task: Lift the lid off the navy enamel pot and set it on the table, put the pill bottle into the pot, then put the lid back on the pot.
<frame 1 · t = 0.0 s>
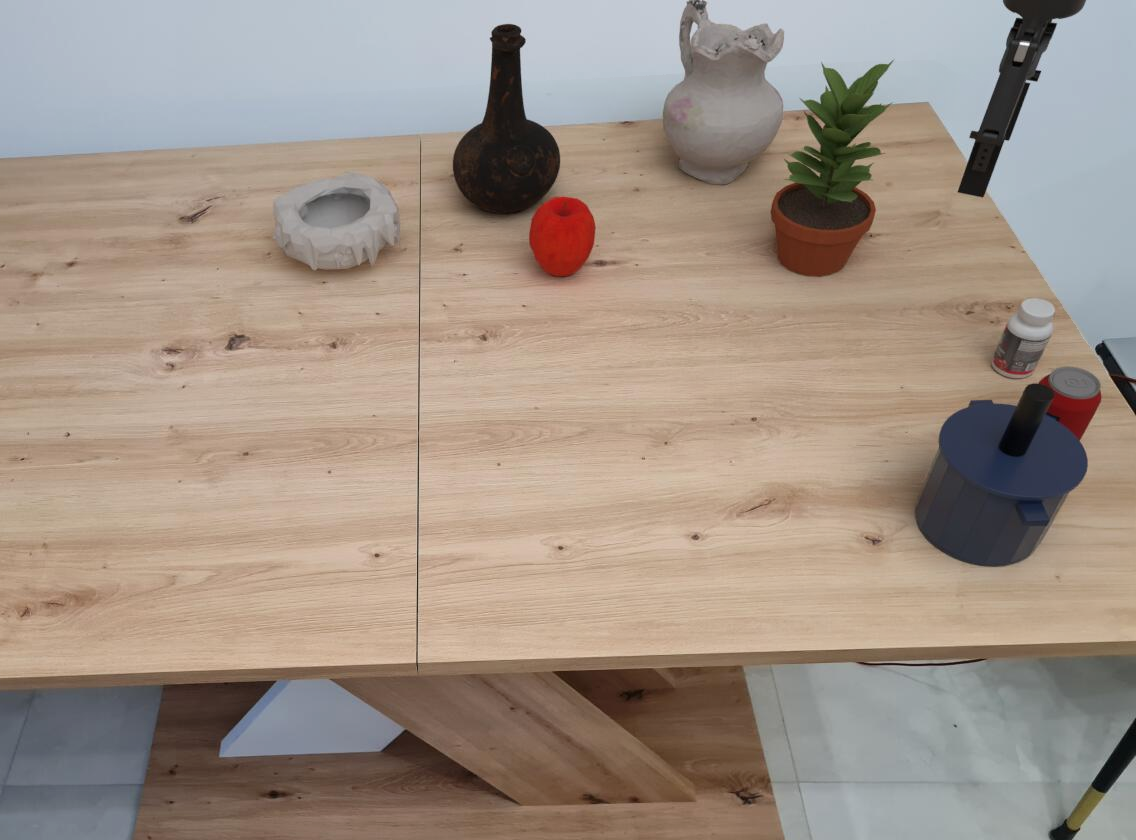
hand: (984, 164, 120), 30 cm above the table, tool pointing down, fingers open, 13 cm apart
glass bottle: (506, 199, 178), on the table
bowl: (341, 256, 171), on the table
lid: (1010, 452, 115), point 11 cm above the table, touching pot
apple: (560, 272, 163), on the table
potted plant: (809, 259, 161), on the table
pill bottle: (1011, 368, 141), on the table
ceramic pitcher: (708, 162, 181), on the table
pot: (976, 522, 123), on the table
beverage can: (1036, 457, 130), on the table
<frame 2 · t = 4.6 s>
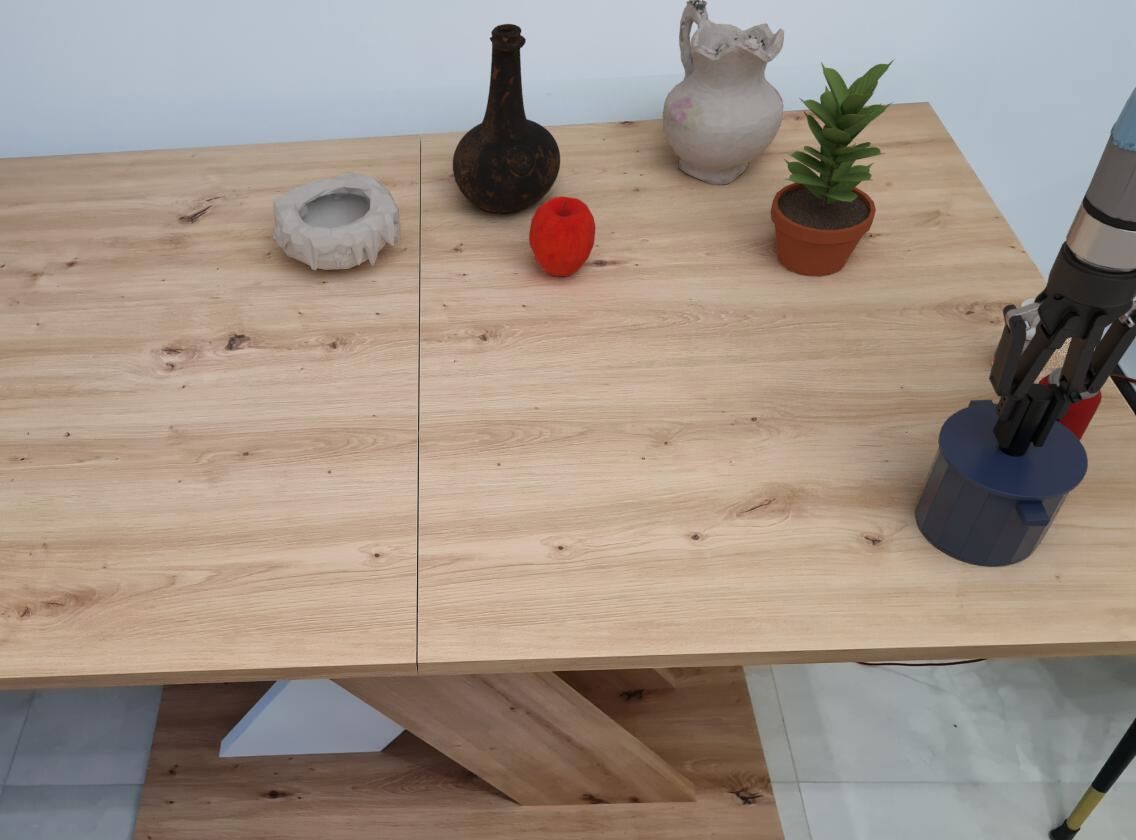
hand: (1017, 438, 113), 14 cm above the table, tool pointing down, fingers closed on lid, 3 cm apart
lid: (1010, 452, 115), point 12 cm above the table, touching gripper, pot
everything else where it was.
when the fingers open (3 cm above the table, at t = 11.8 s): lid stays where it is, point 1 cm above the table.
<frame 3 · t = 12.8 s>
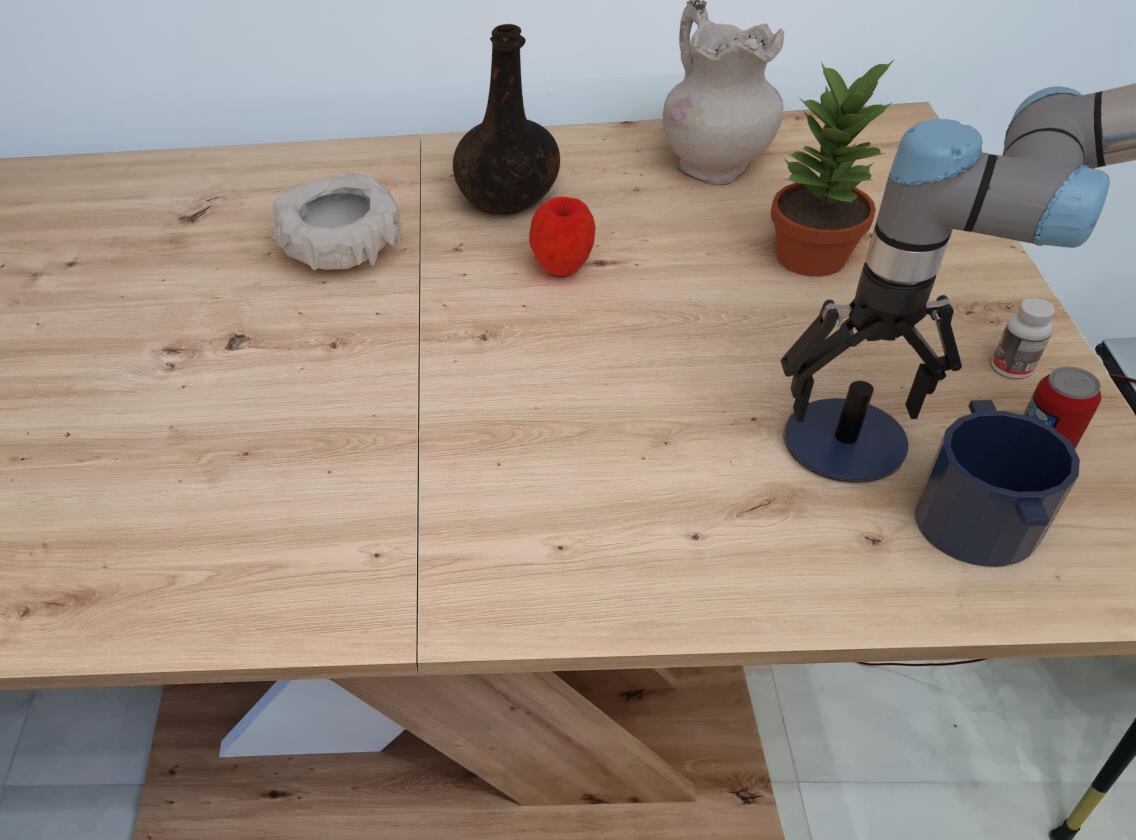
hand: (854, 413, 130), 5 cm above the table, tool pointing down, fingers open, 13 cm apart
lid: (845, 439, 133), point 1 cm above the table
everything else where it was.
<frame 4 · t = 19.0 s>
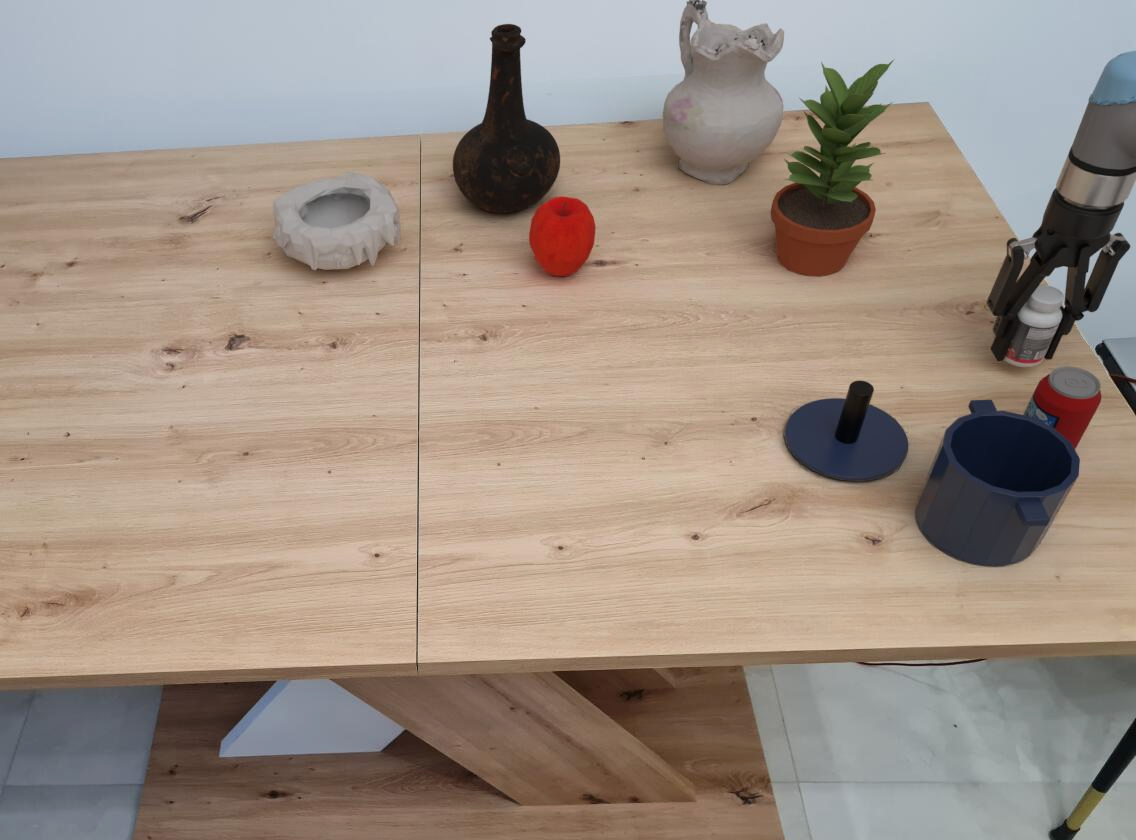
hand: (1020, 353, 139), 2 cm above the table, tool pointing down, fingers closed on pill bottle, 5 cm apart
pill bottle: (1019, 357, 139), point 2 cm above the table, touching gripper
everything else where it was.
when the fingers open (11 cm above the table, at t = 24.7 s): pill bottle drops 10 cm, resting on pot.
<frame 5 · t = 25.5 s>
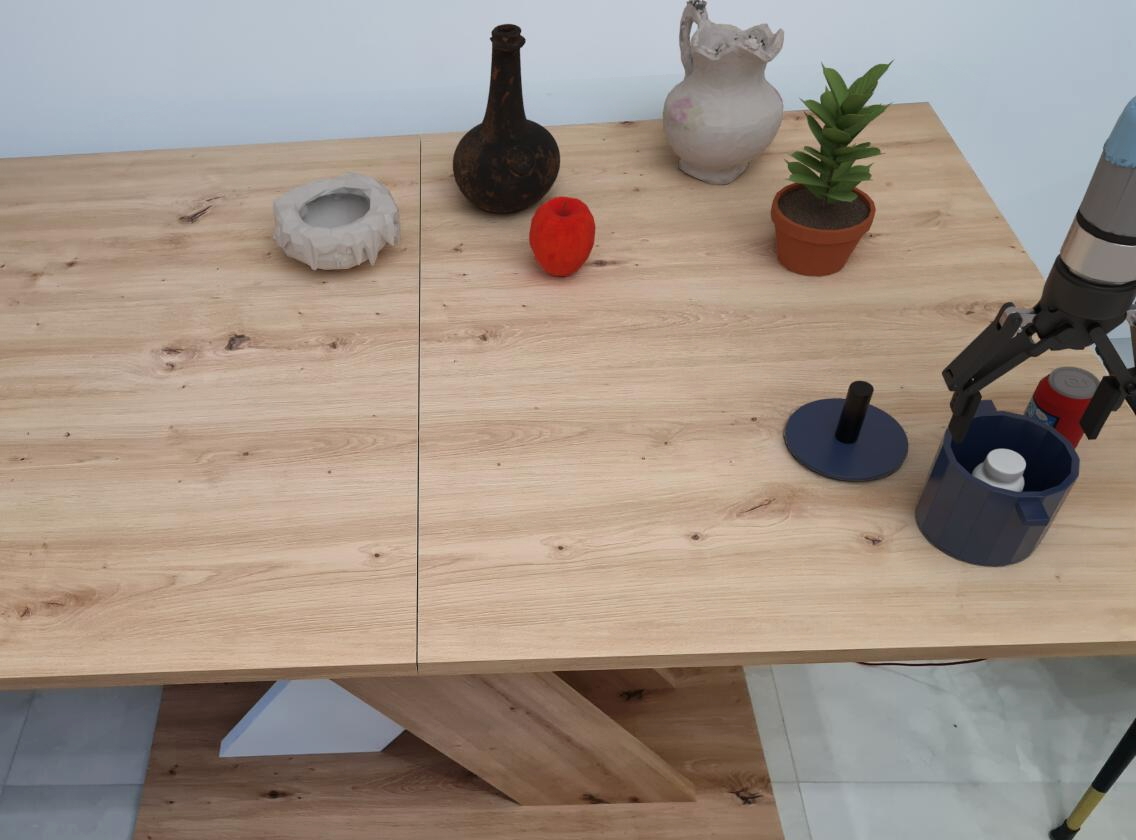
hand: (1020, 433, 113), 14 cm above the table, tool pointing down, fingers open, 13 cm apart
pill bottle: (977, 521, 123), resting on pot
everything else where it was.
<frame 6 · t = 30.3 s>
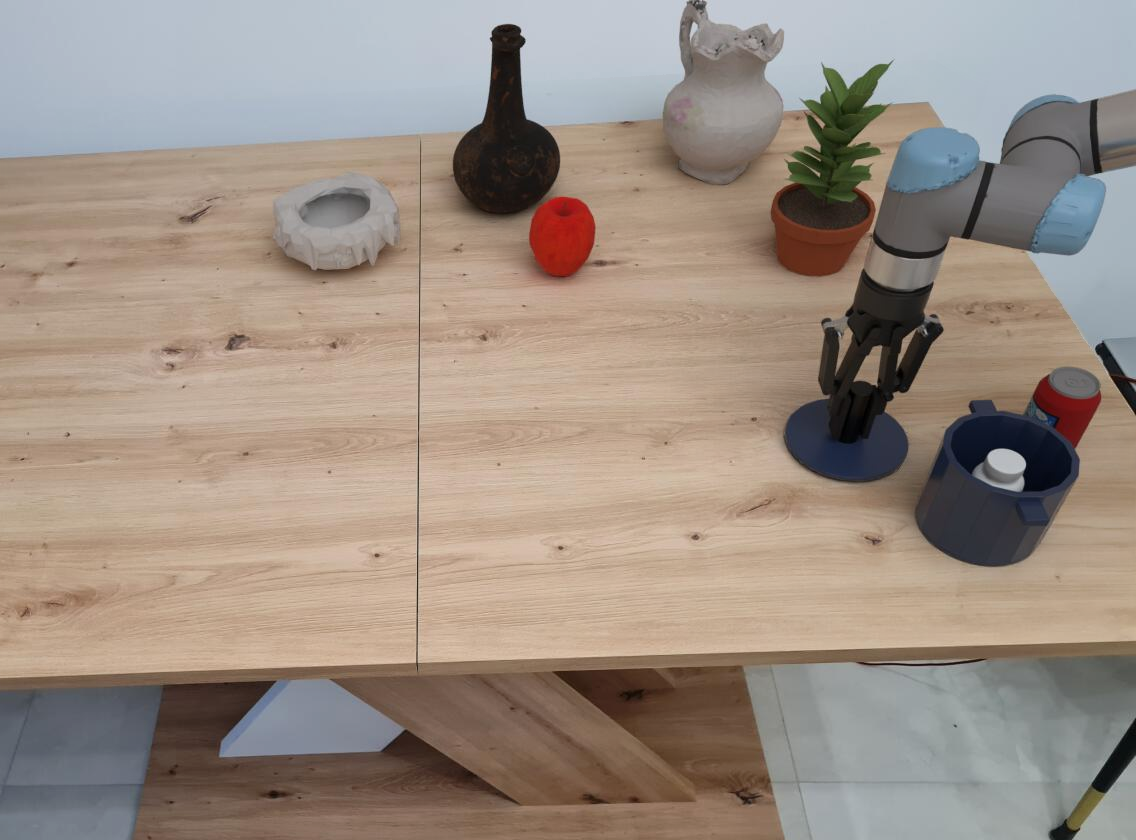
hand: (848, 431, 132), 2 cm above the table, tool pointing down, fingers closed on lid, 3 cm apart
lid: (845, 439, 133), point 1 cm above the table, touching gripper
everything else where it was.
when the fingers open (13 cm above the table, at t = 37.6 s): lid stays where it is, resting on pot.
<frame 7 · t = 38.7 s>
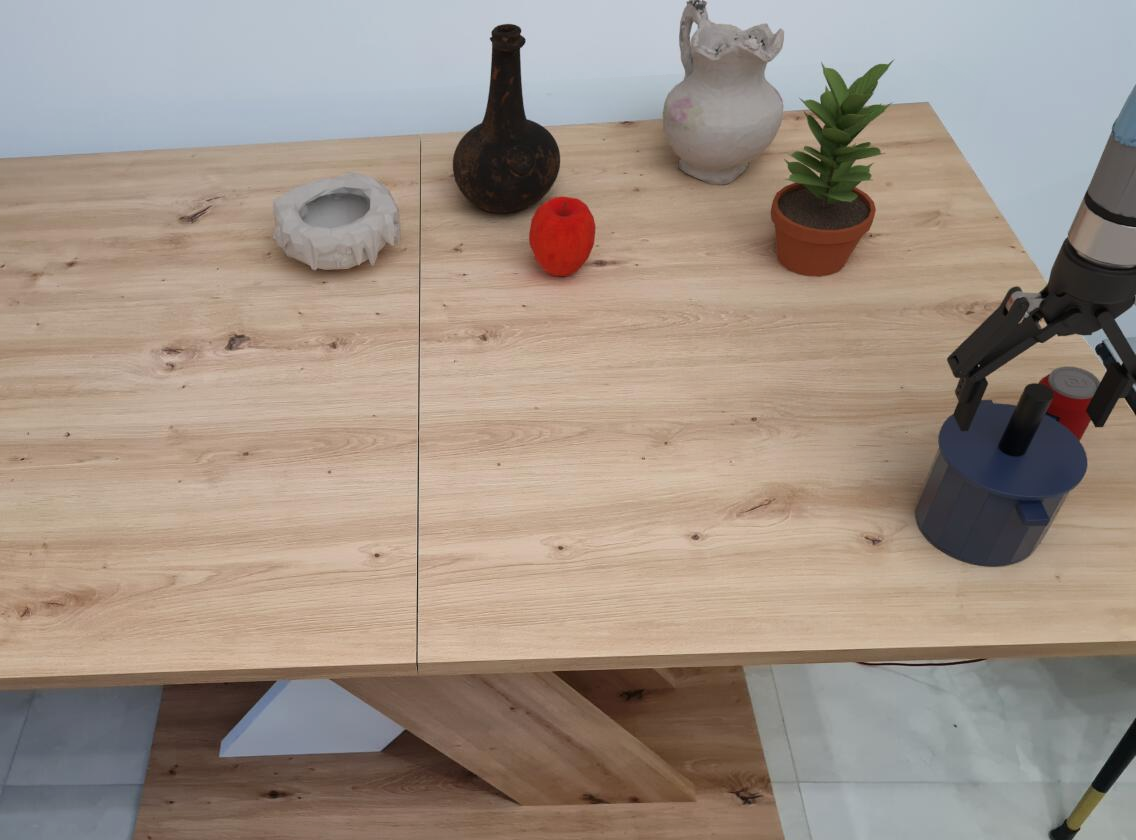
hand: (1026, 420, 111), 16 cm above the table, tool pointing down, fingers open, 13 cm apart
lid: (1010, 451, 115), point 11 cm above the table, touching pot
everything else where it was.
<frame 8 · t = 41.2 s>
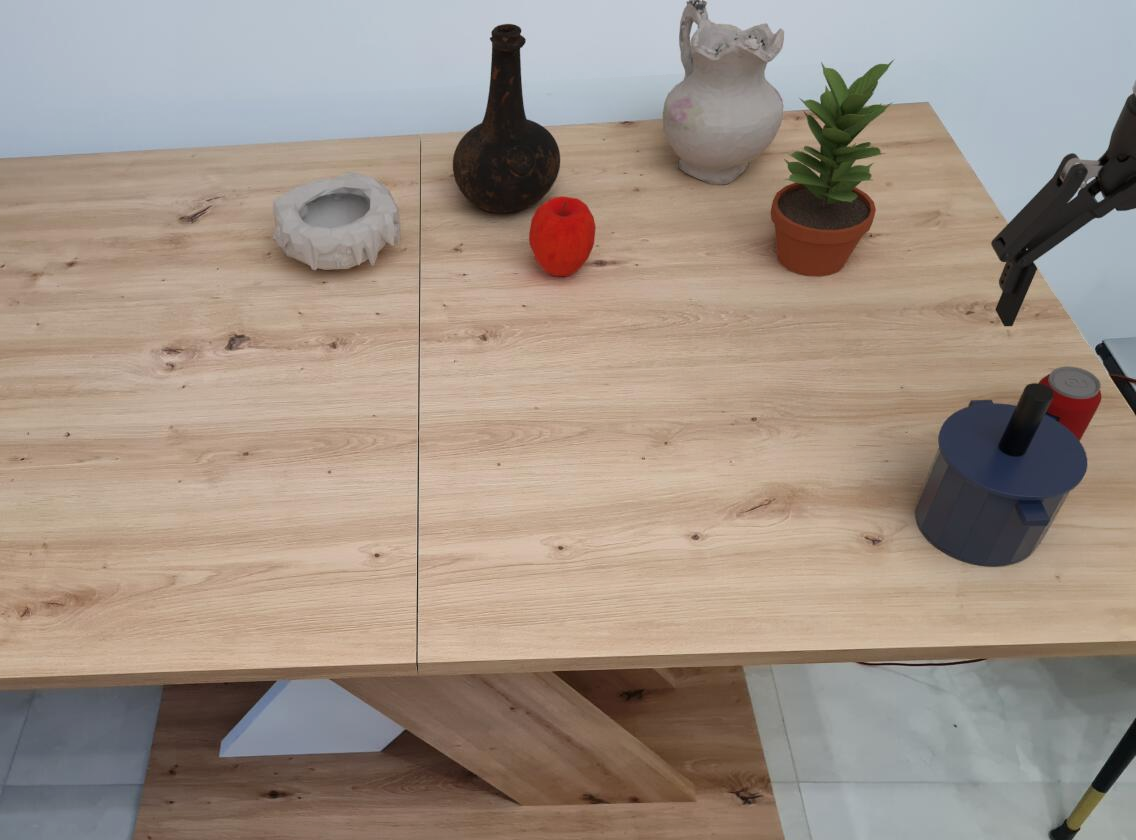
hand: (1076, 315, 101), 30 cm above the table, tool pointing down, fingers open, 13 cm apart
nothing on the table moved.
at the end: pill bottle inside the target area in the pot (0.1 cm from its centre), point 0.3 cm above the pot's base; lid 0.0 cm off-centre on the pot, point 11.5 cm above the pot's base; lid tilted 0° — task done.
